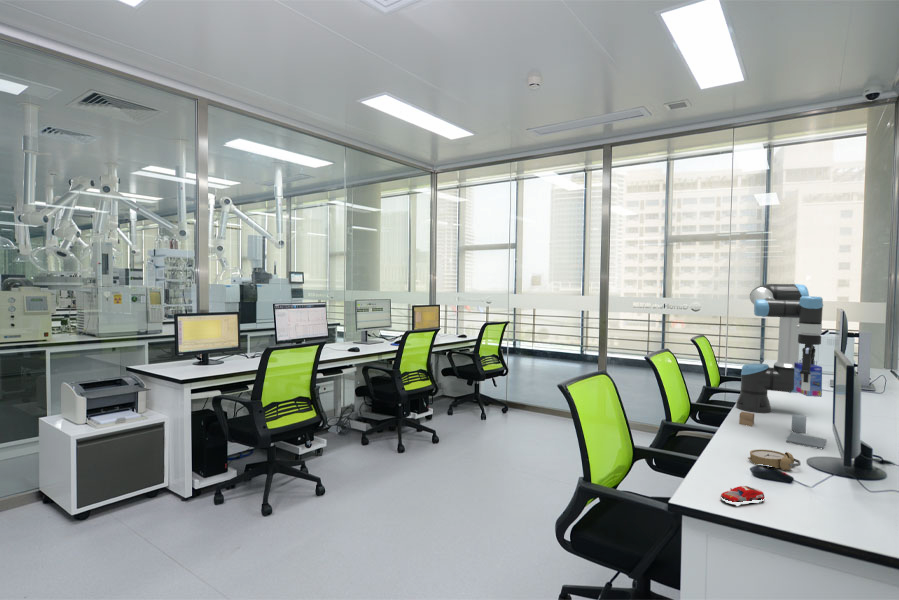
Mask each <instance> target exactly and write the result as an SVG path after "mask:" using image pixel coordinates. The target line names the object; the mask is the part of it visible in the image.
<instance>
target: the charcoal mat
mask: <svg viewBox="0 0 899 600" xmlns="http://www.w3.org/2000/svg"><path fill="white" fill-rule="evenodd" d="M785 442H786V443H789V444H793V445H798V444H799V445H800V446H803V445H804V447H808V446H811V447H810V448H813V447H817V448H816V449H819V448H822V449H821V450H825V447H824V446H826V444H825V443H827V438H822V437H817V436H810V435H807V434H800V433H795V432H790V433H789V435H788V437H787V438H786V440H785ZM799 445H798V446H799Z"/></svg>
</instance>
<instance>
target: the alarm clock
mask: <svg viewBox="0 0 899 600" xmlns="http://www.w3.org/2000/svg"><path fill="white" fill-rule="evenodd" d="M749 455H750V456H749V457H747V459H748V460H751V461H752V462H753V463H752V462H751V461H750V462H751V463H752V464H754V463H755V464H754V465H756V464H763V465H769V466H772V467H775V468H774V469H781V470H783V471H785V472H787V471H789V470H791V469H792V467H799V466H801V465H802V464H801V461H800V460H799V459H796V458H794V456H793V454H792V453H791V452H787V451H786V452H785V453H783V452H780V451H776V450H773V449H772V450H771V449H752V450H750V451H749Z"/></svg>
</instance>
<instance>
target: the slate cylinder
mask: <svg viewBox="0 0 899 600" xmlns="http://www.w3.org/2000/svg"><path fill="white" fill-rule="evenodd" d="M806 428H807V416H805V415H803V414H792V415H791V430H792V431H793V432H792V431H791V432H792V433H795V432H796V434H800V433H805V434H806V431H807V429H806Z"/></svg>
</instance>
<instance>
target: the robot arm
mask: <svg viewBox="0 0 899 600" xmlns="http://www.w3.org/2000/svg"><path fill="white" fill-rule="evenodd" d="M749 299H750V300H749V301H750V302H751V303H752V305H753V313H754V315H755V316H756V317H761V318H765V317H766V318H769V317H771V318H779V324H778V325H779V326H778V345H777V346H778V347H777V361H776V362H774V363H773V367H770V366H769V364H768V363H747V364H744V365H743V366H742V367H741V373H740V377H741V379H740V380H741V381H740V393H739V395H738V398H737V400H736V402H735V403H736V404H735V405H736V406H735V407H736V408H737V409H739V410H743V411H745V412H747V411H748V412H750V413H752V412H753V413H761V414H762V413H763V414H765V413H766V414H767V413H771V412H772V406H771V403H770V399H769V396H768V391H772V392H783V393H790V394H791V393H792V394H793V393H794V394H799V393H798V392H795V391H794V363H799V358H800V344H803V345H804V347H803V348H802V358H803V360H802V362H801V363H802V371H800V374H802V384H801V390H806V391H810V377H811V374H810V368H811V364H813V365H815V357H816V347H815V346H816V345H817V346H819V345H821V343H822V336H821V334H822V332H823V331H822V329H823V324H822V323H823V322H822V321H823V307H824V302H823V297H822V296H810V294H809V290H808V287H807V286H806V285H805V284H798V283H766V284H761V285H759V286H756V287H755V288H754V289H752V290H751V292H750V294H749Z"/></svg>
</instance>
